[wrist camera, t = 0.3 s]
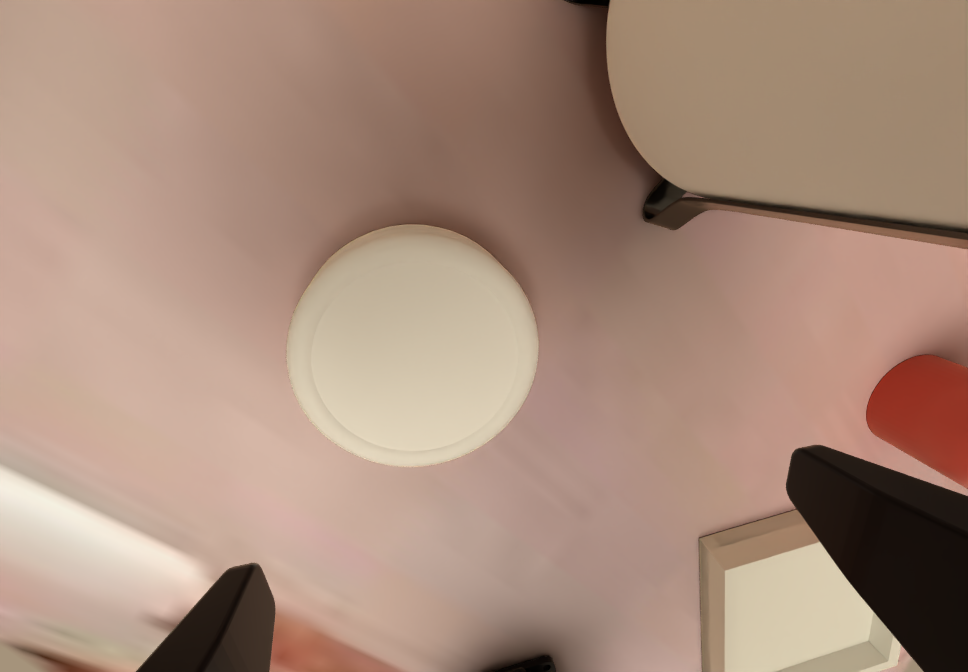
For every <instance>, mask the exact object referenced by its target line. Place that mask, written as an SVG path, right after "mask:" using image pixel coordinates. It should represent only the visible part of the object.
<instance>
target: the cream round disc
mask: <svg viewBox="0 0 968 672" xmlns="http://www.w3.org/2000/svg"><path fill="white" fill-rule="evenodd" d="M538 349H539V339H538V330H537V324H536V320H535V316H534V313H533V310H532V308H531V305H530V303H529V300H528V298H527V297H526V295H525V293H524V291H523V290H522V288H521V286H520V285H519V284H518V282H517V281H516V280H515V279H514V277H513V276H512V275H511V274H510V273H509V272H508V271H507V270H506V269H505V268H504V267H503V266H502V265H501V264H500V263H499V262H498V261H497V260H496V259H495V258H494V257H493V256H492V255H491V254H490V253H489V252H488V251H487V250H485V249H484V248H483V247H481V246H480V245H479V244H477V243H476V242H474V241H472V240H471V239H469V238H467V237H465V236H463V235H461V234H458V233H456V232H454V231H451V230H447V229H444V228H440V227H436V226H429V225H420V224H405V225H397V226H389V227H386V228H382V229H378V230H375V231H372V232H370V233H367V234H365V235H363V236H360V237H358V238H356V239H355V240H353V241H351V242H350V243H348V244H346V245H344V246H343V247H342V248H341V249H339V250H338V251H337V252H336V253H335V254H333V255H332V256H331V257H330V258H329V259H328V260H327V261H326V262H325V264H324V265H323V266H322V267H321V268H320V269H319V271H318V272H317V274H316V275H315V276H314V278H313V279H312V281H311V282H310V284H309V285H308V287H307V288H306V290H305V292H304V293H303V294H302V296H301V298H300V300H299V302H298V304H297V306H296V308H295V310H294V312H293V316H292V319H291V322H290V326H289V330H288V336H287V343H286V362H287V368H288V374H289V379H290V382H291V385H292V388H293V391H294V394H295V396H296V398H297V400H298V402H299V404H300V406H301V408H302V410H303V411H304V413H305V414H306V416H307V417H308V419H309V420H310V421H311V422H312V423H313V425H314V426H315V427H316V428H317V429H318V430H319V431H320V432H321V433H322V434H323V435H324V436H326V437H327V438H328V439H329V440H330V441H332V442H333V443H335V444H336V445H338V446H339V447H341V448H342V449H344V450H346V451H348V452H350V453H352V454H353V455H355V456H358V457H361V458H363V459H366V460H368V461H372V462H376V463H379V464H383V465H390V466H397V467H420V466H430V465H435V464H440V463H444V462H447V461H451V460H454V459H457V458H459V457H461V456H464V455H466V454H468V453H471V452H472V451H474V450H476V449H478V448H479V447H481V446H483V445H484V444H486V443H487V442H488V441H490V440H491V439H492V438H494V437H495V436H496V435H497V434H498V433H499V432H500V431H502V430H503V429H504V428H505V427H506V426H507V425H508V424H509V422H510V421H511V420H512V419H513V418H514V416H515V415H516V414H517V412H518V411H519V409H520V408H521V406H522V405H523V403H524V402H525V400H526V397H527V395H528V393H529V391H530V389H531V386H532V383H533V380H534V377H535V374H536V368H537V363H538Z"/></svg>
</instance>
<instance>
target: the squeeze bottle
mask: <svg viewBox="0 0 968 672" xmlns="http://www.w3.org/2000/svg"><path fill="white" fill-rule="evenodd" d="M866 417H867V423H868V426H869V428H870V430H871V431H872V433H873V434H874V435H876V436H877V437H879V438H881V439H883V440H884V441H886V442H888V443H889V444H891V445H893V446H895V447H896V448H898V449H900V450H901V451H903V452H905V453H907V454H908V455H910V456H912V457H914V458H915V459H917V460H919V461H920V462H922V463H924V464H926V465H927V466H929V467H931V468H933V469H934V470H936V471H938V472H939V473H941V474H943V475H945V476H946V477H948V478H950V479H951V480H953V481H955V482H957V483H958V484H960V485H962V486H964V487H965V488H967V489H968V368H967V367H965V366H962V365H959V364H957V363H954V362H951V361H948V360H946V359H943V358H940V357H938V356H934V355H920V356H915V357H912V358H910V359H907V360H905V361H903V362H902V363H900V364H898V365H897V366H896V367H894V368H893V369H892V370H891V371H889V372H888V373H887V374H886V375H885V376H884V377H883V378H882V380H881V381H880V382H879V383H878V385H877V386H876V388H875V389H874V391H873V393H872V395H871V397H870V400H869V403H868V406H867V414H866Z"/></svg>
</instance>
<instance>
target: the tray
mask: <svg viewBox="0 0 968 672" xmlns="http://www.w3.org/2000/svg"><path fill="white" fill-rule="evenodd" d="M699 560H700V602H701V644H702V672H879V671H882V670H885V669H888V668H891V667H894V666H897V663H898V658H899V654H900V649H901V644H900V643H899V642H898V640H897V639H896V638H895V637H894V636H893V635H892V633H891V632H890V631H889V630H888V629H887V627H886V626H885V625H884V624H883V623H882V621H881V620H880V619H879V618H878V617H877V615H876V614H875V613H874V612H873V611H872V610H871V608H870V607H869V606H868V605H867V604H866V602H865V601H864V600H863V599H862V598H861V596H860V595H859V594H858V593H857V592H856V590H855V589H854V588H853V587H852V585H851V584H850V583H849V582H848V580H847V579H846V578H845V576H844V575H843V574H842V572H841V571H840V569H839V568H838V567H837V565H836V564H835V563H834V561H833V560H832V558H831V557H830V555H829V554H828V553H827V551H826V550H825V548H824V547H823V546H822V544H821V543H820V541H819V540H818V538H817V537H816V536H815V534H814V533H813V531H812V530H811V529H810V527H809V526H808V524H807V523H806V521H805V520H804V519H803V517H802V516H801V514H800V513H799V512H798V510H793V511H790V512H787V513H783V514H780V515H776V516H773V517H770V518H766V519H763V520H759V521H756V522H753V523H749V524H746V525H742V526H739V527H736V528H732V529H729V530H725V531H722V532H719V533H715V534H712V535H708V536H705V537H702V538H699Z"/></svg>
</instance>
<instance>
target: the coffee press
mask: <svg viewBox="0 0 968 672" xmlns="http://www.w3.org/2000/svg"><path fill="white" fill-rule="evenodd" d="M564 1H566V2H569V3H572V4H575V5H581V6H593V7H605V8H609V11H608V19H607V33H606V53H607V67H608V75H609V81H610V86H611V91H612V95H613V99H614V102H615V106H616V109H617V112H618V114H619V117H620V119H621V122H622V124H623V126H624V128H625V130H626V132H627V134H628V136H629V138H630V140H631V141H632V143H633V144H634V146H635V147H636V149H637V150H638V152H639V153H640V154H641V156H642V157H643V158H644V159H645V160H646V161H647V163H648V164H649V165H650V166H651V167H652V168H653V169H654V170H655V171H656V172H658V173H659V174H660V175H661V176H662V177H664V178H663V179H662V180H661V181H660V182H659V183H658V185H657V186H656V187H655V188H654V189H653V190H652V191H651V193H650V194H649V196H648V197H647V199H646V201H645V204H644V207H643V219H644V221H645V222H647V223H651V224H654V225H657V226H661V227H664V228H667V229H670V230H677V229H678V228H680V227H681V226H683V225H684V224H686V223H687V222H688V221H690V220H691V219H692V218H694V217H695V216H697V215H699V214H700V213H702V212H704V211H707V210H724V211H732V212H739V213H746V214H752V215H759V216H765V217H771V218H777V219H784V220H790V221H796V222H802V223H809V224H815V225H821V226H827V227H833V228H840V229H846V230H852V231H858V232H864V233H871V234H877V235H883V236H889V237H895V238H901V239H908V240H914V241H920V242H926V243H932V244H938V245H944V246H951V247H957V248H963V249H968V0H564ZM686 192H690V193H692V194H695V195H698V196H701V197H704V198H695V197H684V198H681V197H682V196H683V195H684V194H685V193H686ZM706 198H708V199H706Z"/></svg>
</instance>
